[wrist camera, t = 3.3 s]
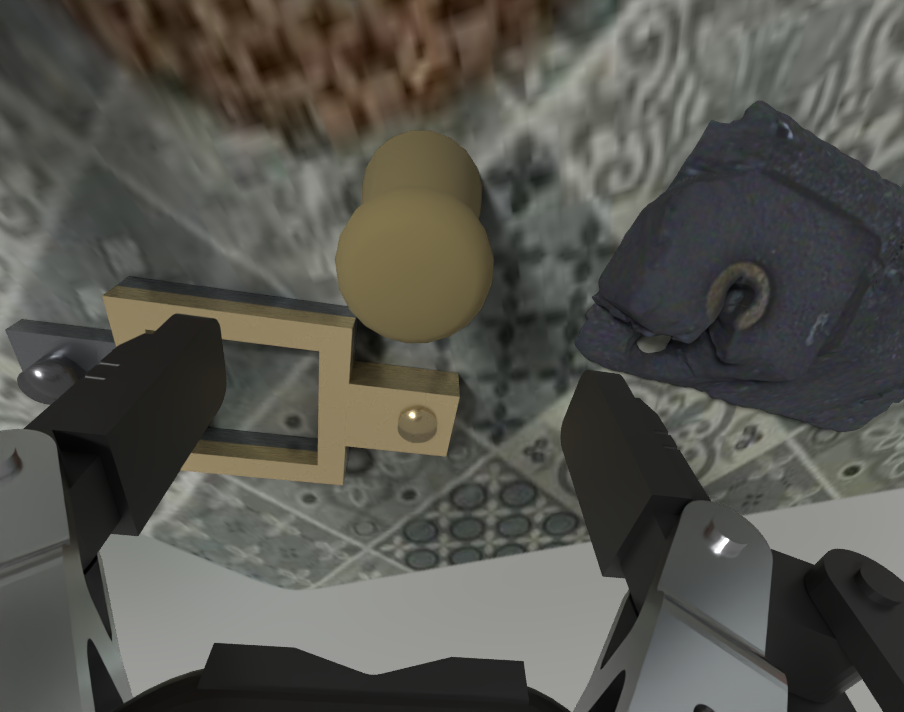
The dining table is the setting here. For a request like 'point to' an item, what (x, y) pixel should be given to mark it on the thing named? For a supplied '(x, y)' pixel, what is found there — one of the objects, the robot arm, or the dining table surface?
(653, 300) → the crumpled black pouch
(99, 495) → the robot arm
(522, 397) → the dining table surface
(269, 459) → the chain end
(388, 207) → the brown rounded peg
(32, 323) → the chain end
